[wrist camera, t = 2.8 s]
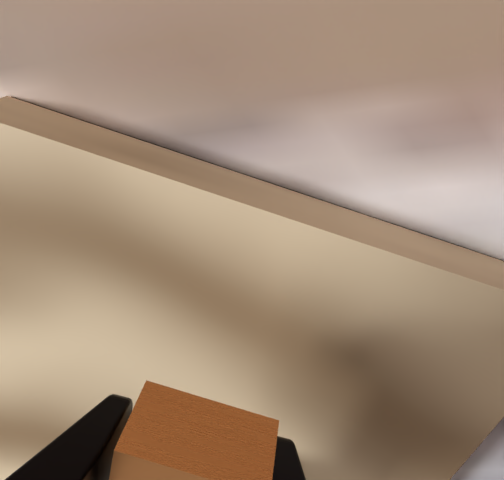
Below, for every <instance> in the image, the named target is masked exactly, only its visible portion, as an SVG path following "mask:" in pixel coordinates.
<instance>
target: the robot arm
mask: <svg viewBox="0 0 504 480" xmlns="http://www.w3.org/2000/svg"><path fill="white" fill-rule="evenodd" d="M132 408H133V402H132V399H131V398H128V397H124V396H120V395H117V394H111V395H109V396H108V397H106V398H105V399H104V400H103V401H101V402H100V403H99V404H98V405H96V406H95V407H94V408H93V409H91V410H90V411H89V412H88V413H86V414H85V415H84V416H83V417H82V418H80V419H79V420H78V421H77V422H75V423H74V424H73V425H72V426H70V427H69V428H68V429H67V430H65V431H64V432H63V433H62V434H61V435H59V436H58V437H57V438H56V439H54V440H53V441H52V442H51V443H49V444H48V445H47V446H46V447H44V448H43V449H42V450H41V451H39V452H38V453H37V454H36V455H35V456H33V457H32V458H31V459H30V460H28V461H27V462H26V463H25V464H23V465H22V466H21V467H20V468H18V469H17V470H16V471H15V472H14V473H12V474H11V475H10V476H9V477H7V478H6V479H5V480H109V476H110V470H111V464H112V458H113V452H114V449H115V447H116V445H117V442H118V440H119V438H120V436H121V434H122V432H123V429H124V427H125V425H126V423H127V421H128V419H129V416H130V414H131V412H132ZM272 480H306V478H305V475H304V472H303V469H302V465H301V462H300V459H299V456H298V453H297V450H296V446H295V444H294V442H293V441H292V440H291V439H287V438H283V437H280V436H277V443H276V452H275V460H274V468H273V477H272Z"/></svg>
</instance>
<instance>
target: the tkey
mask: <svg viewBox="0 0 504 480" xmlns="http://www.w3.org/2000/svg"><path fill="white" fill-rule="evenodd" d="M278 427H279V420H276V419H273V418H269V417H266V416H263V415H260V414H256V413H253V412H250V411H246V410H243V409H240V408H236V407H233V406H230V405H226V404H223V403H220V402H217V401H213V400H210V399H207V398H203V397H200V396H197V395H193V394H190V393H187V392H183V391H180V390H177V389H174V388H170V387H167V386H164V385H160V384H157V383H154V382H150V381H147V380H146V382H145V384H144V386H143V388H142V391H141V393H140V395H139V397H138V399H137V401H136V404H135V406H134V408H133V410H132V412H131V414H130V416H129V419H128V421H127V423H126V425H125V427H124V429H123V432H122V434H121V436H120V438H119V440H118V442H117V445H116V447H115V449H114V452H113V458H112V464H111V470H110V476H109V480H272V477H273V468H274V460H275V452H276V443H277V435H278Z"/></svg>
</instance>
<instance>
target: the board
mask: <svg viewBox="0 0 504 480" xmlns="http://www.w3.org/2000/svg"><path fill="white" fill-rule="evenodd" d="M146 380H147V381H150V382H154V383H157V384H160V385H164V386H167V387H170V388H174V389H177V390H180V391H183V392H187V393H190V394H193V395H197V396H200V397H203V398H207V399H210V400H213V401H217V402H220V403H223V404H226V405H230V406H233V407H236V408H240V409H243V410H246V411H250V412H253V413H256V414H260V415H263V416H266V417H269V418H273V419H276V420H279V427H278V435H277V436H280V437H283V438H287V439H291V440H292V441H293V442H294V444H295V446H296V450H297V453H298V456H299V459H300V462H301V465H302V469H303V472H304V475H305V478H306V480H450V479H451V478H452V476H453V475H454V474H455V473H456V472H457V471H458V470H459V468H460V467H461V466H462V465H463V464H464V463H465V461H466V460H467V459H468V458H469V457H470V456H471V454H472V453H473V452H474V451H475V450H476V449H477V447H478V446H479V445H480V444H481V443H482V442H483V440H484V439H485V438H486V437H487V436H488V435H489V434H490V432H491V431H492V430H493V429H494V428H495V427H496V425H497V424H498V423H499V422H500V421H501V420H502V418H503V417H504V261H502V260H499V259H496V258H493V257H490V256H487V255H484V254H481V253H478V252H475V251H472V250H469V249H466V248H463V247H460V246H457V245H454V244H451V243H448V242H445V241H442V240H439V239H436V238H433V237H430V236H427V235H424V234H421V233H418V232H415V231H412V230H409V229H406V228H403V227H400V226H397V225H394V224H391V223H388V222H385V221H382V220H379V219H376V218H373V217H370V216H367V215H364V214H361V213H358V212H355V211H352V210H349V209H346V208H343V207H340V206H337V205H334V204H331V203H328V202H325V201H322V200H319V199H316V198H313V197H310V196H307V195H304V194H301V193H298V192H295V191H292V190H289V189H286V188H283V187H280V186H277V185H274V184H271V183H268V182H265V181H262V180H259V179H256V178H253V177H250V176H247V175H244V174H241V173H238V172H235V171H232V170H229V169H225V168H222V167H219V166H216V165H213V164H210V163H207V162H204V161H201V160H198V159H195V158H192V157H189V156H186V155H183V154H180V153H177V152H174V151H171V150H168V149H165V148H162V147H159V146H156V145H153V144H150V143H147V142H144V141H141V140H138V139H135V138H132V137H129V136H126V135H123V134H120V133H117V132H114V131H111V130H108V129H105V128H102V127H99V126H96V125H93V124H90V123H87V122H84V121H81V120H78V119H75V118H72V117H69V116H66V115H63V114H60V113H57V112H54V111H51V110H48V109H45V108H42V107H39V106H36V105H33V104H30V103H27V102H24V101H21V100H18V99H15V98H12V97H9V96H6V97H3V98H0V480H5V479H6V478H7V477H9V476H10V475H11V474H12V473H14V472H15V471H16V470H17V469H18V468H20V467H21V466H22V465H23V464H25V463H26V462H27V461H28V460H30V459H31V458H32V457H33V456H35V455H36V454H37V453H38V452H39V451H41V450H42V449H43V448H44V447H46V446H47V445H48V444H49V443H51V442H52V441H53V440H54V439H56V438H57V437H58V436H59V435H61V434H62V433H63V432H64V431H65V430H67V429H68V428H69V427H70V426H72V425H73V424H74V423H75V422H77V421H78V420H79V419H80V418H82V417H83V416H84V415H85V414H86V413H88V412H89V411H90V410H91V409H93V408H94V407H95V406H96V405H98V404H99V403H100V402H101V401H103V400H104V399H105V398H106V397H108V396H109V395H111V394H117V395H120V396H124V397H128V398H131V399H132V402H133V408H134V406H135V404H136V401H137V399H138V397H139V395H140V393H141V391H142V388H143V386H144V384H145V382H146ZM133 408H132V410H133Z"/></svg>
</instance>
